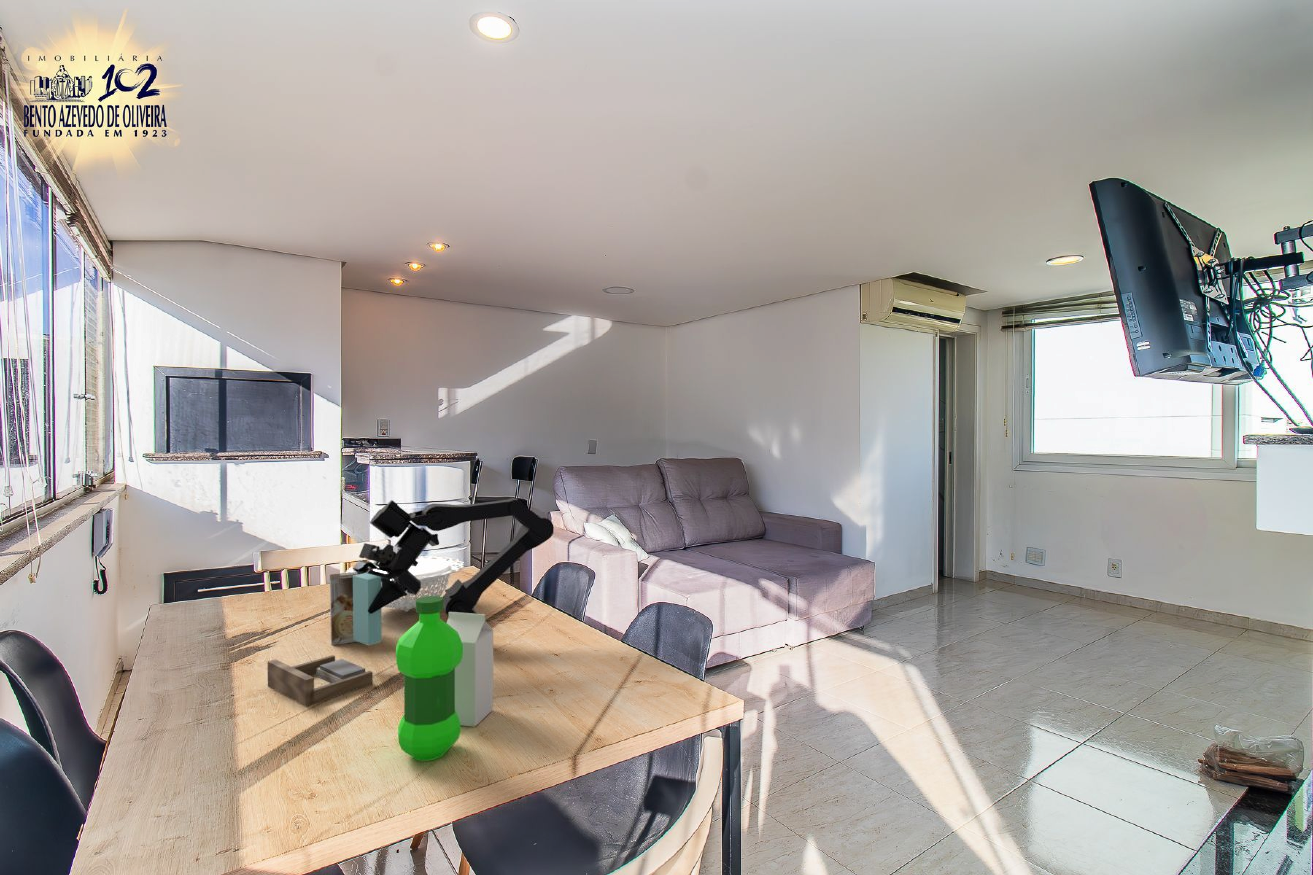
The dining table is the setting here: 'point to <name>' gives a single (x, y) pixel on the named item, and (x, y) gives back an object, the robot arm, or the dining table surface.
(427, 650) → the plastic bottle
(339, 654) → the dining table surface
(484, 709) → the milk carton
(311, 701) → the frame
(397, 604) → the colander
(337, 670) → the offcut stack
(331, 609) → the coffee box
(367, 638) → the teal rectangular block
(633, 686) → the dining table surface
